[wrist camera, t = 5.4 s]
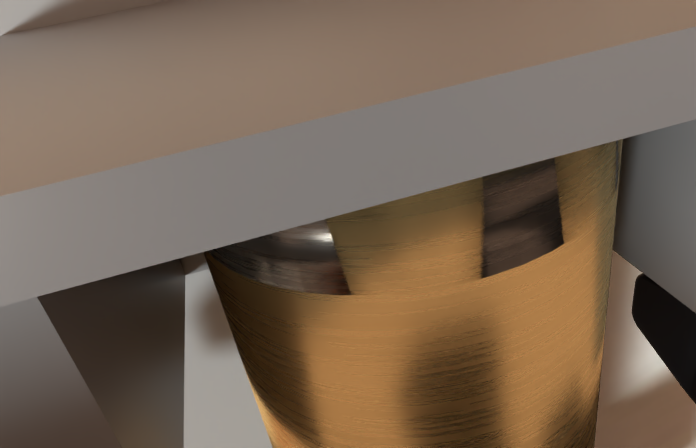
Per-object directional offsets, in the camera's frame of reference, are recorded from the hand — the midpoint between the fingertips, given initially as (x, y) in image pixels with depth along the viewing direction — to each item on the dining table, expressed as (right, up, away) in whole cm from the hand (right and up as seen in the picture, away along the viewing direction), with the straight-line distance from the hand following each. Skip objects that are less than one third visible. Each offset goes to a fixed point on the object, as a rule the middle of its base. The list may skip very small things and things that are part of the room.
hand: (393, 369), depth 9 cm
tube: (0, -2, +1) cm, 2 cm away
